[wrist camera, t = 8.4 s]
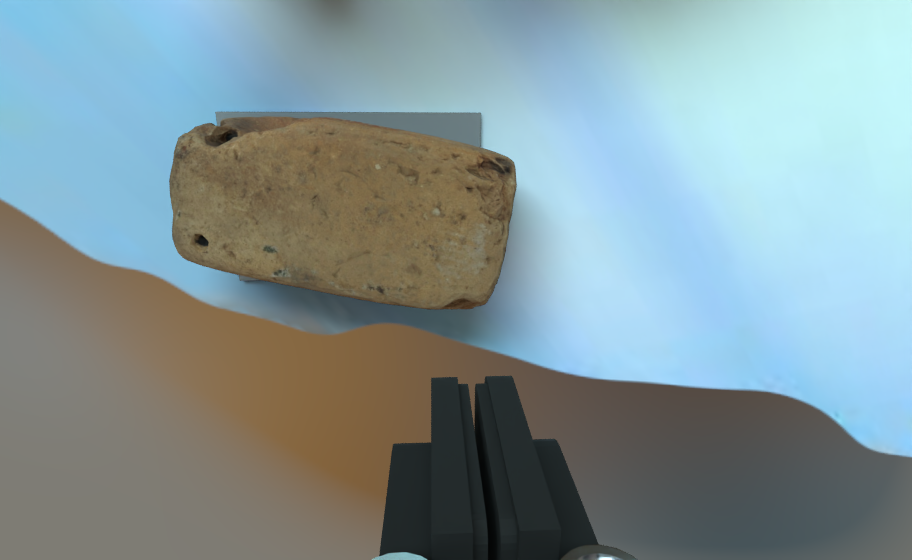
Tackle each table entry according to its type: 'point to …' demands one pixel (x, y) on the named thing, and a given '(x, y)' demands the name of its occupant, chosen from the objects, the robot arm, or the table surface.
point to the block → (344, 209)
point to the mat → (393, 125)
